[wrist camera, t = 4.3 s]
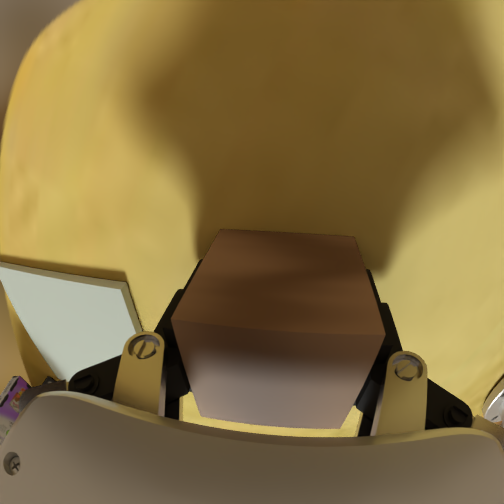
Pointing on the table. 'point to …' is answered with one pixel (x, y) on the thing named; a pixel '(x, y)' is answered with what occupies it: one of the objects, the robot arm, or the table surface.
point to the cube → (278, 329)
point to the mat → (71, 316)
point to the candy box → (10, 404)
